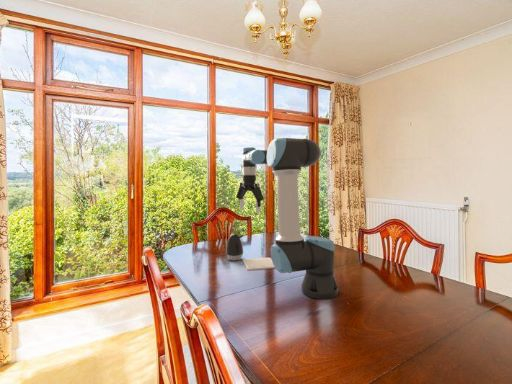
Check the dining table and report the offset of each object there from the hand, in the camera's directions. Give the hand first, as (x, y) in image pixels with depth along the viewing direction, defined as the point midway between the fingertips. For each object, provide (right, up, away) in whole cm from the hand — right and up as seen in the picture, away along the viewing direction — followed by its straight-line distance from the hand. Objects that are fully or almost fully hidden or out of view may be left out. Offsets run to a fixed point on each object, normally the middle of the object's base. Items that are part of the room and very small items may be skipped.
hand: (249, 211), depth 164 cm
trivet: (+5, -29, -8) cm, 30 cm away
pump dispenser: (-9, -28, +1) cm, 30 cm away
